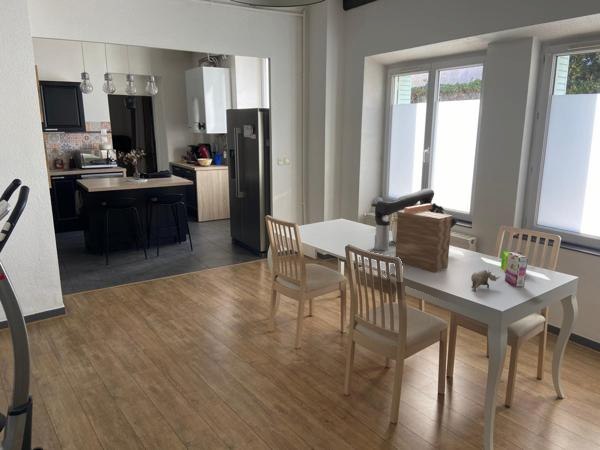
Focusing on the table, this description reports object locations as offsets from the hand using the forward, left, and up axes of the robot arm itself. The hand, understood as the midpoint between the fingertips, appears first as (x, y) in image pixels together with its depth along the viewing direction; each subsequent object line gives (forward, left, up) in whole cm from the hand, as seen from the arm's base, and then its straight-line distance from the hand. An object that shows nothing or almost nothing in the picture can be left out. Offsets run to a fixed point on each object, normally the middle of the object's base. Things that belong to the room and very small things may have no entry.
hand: (427, 203), depth 276 cm
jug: (-18, +41, -36) cm, 57 cm away
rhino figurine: (+32, -46, -36) cm, 67 cm away
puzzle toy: (+51, -7, -36) cm, 63 cm away
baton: (-5, -8, -4) cm, 10 cm away
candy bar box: (+49, -33, -36) cm, 69 cm away
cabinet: (-1, -15, -36) cm, 39 cm away
